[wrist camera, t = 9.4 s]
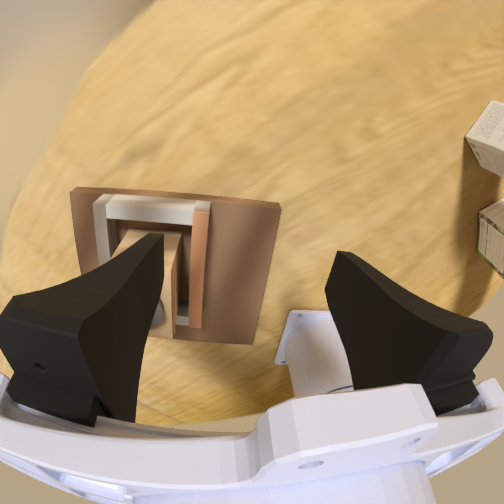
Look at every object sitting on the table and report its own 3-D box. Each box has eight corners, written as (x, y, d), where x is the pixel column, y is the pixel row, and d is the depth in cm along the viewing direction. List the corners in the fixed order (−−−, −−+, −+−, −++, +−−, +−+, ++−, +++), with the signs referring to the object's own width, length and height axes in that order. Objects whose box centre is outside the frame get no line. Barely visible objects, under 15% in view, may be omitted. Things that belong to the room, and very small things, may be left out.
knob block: (184, 231, 21) (171, 278, 16) (182, 295, 24) (173, 347, 19) (130, 226, 20) (103, 270, 15) (135, 290, 23) (117, 340, 18)
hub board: (278, 203, 22) (286, 221, 19) (251, 335, 29) (254, 361, 26) (76, 187, 20) (56, 203, 17) (97, 319, 26) (87, 343, 24)
